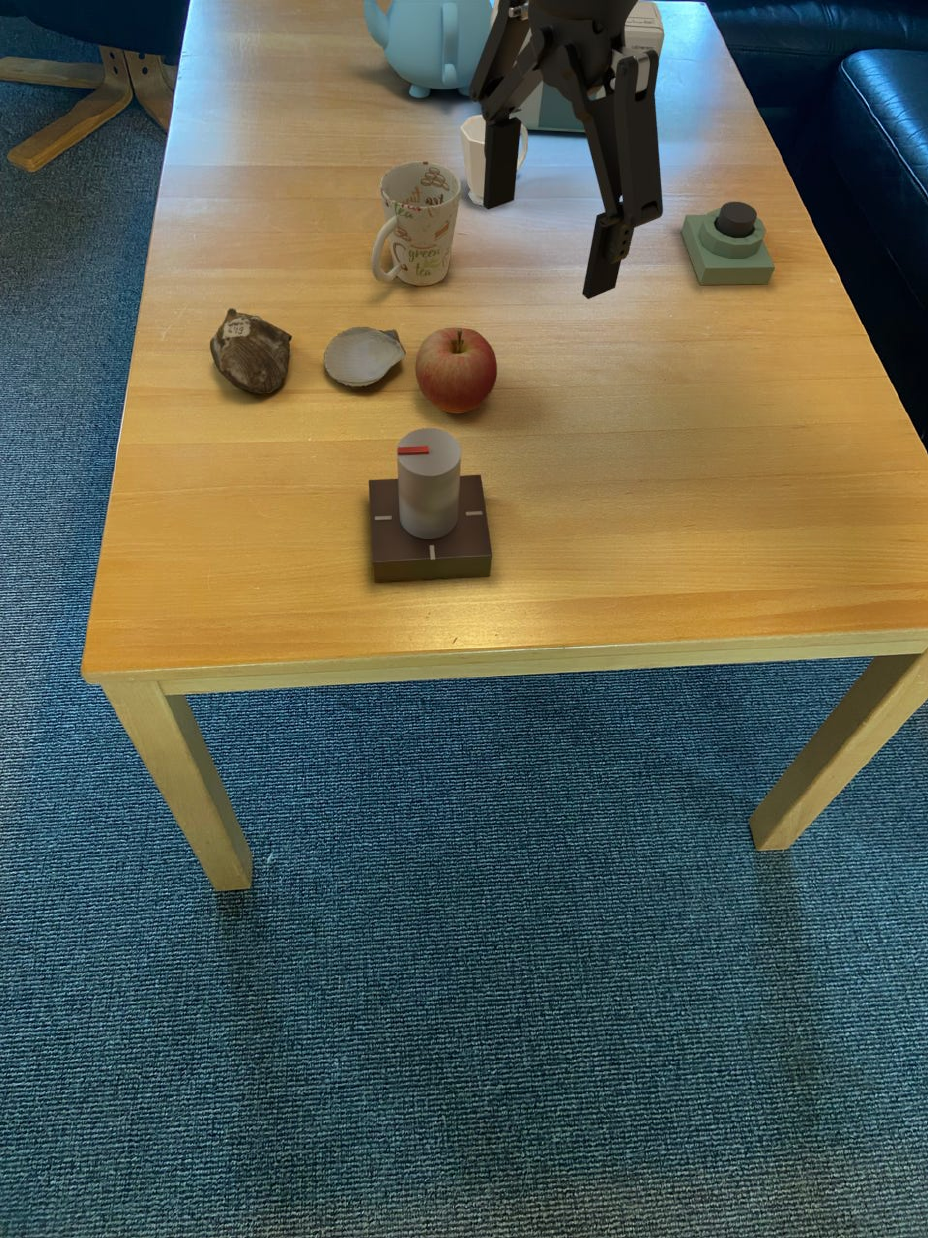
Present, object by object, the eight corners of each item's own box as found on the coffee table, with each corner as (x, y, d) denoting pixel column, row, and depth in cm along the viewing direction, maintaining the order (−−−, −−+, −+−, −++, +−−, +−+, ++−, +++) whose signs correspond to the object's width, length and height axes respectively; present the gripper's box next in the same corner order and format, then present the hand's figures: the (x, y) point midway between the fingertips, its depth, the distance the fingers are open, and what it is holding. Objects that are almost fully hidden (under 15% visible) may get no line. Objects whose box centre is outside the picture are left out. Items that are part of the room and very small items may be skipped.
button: (755, 239, 93) (761, 222, 91) (720, 239, 93) (726, 222, 91) (745, 217, 95) (751, 200, 93) (711, 218, 95) (717, 201, 93)
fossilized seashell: (223, 307, 85) (190, 385, 81) (242, 271, 80) (207, 352, 76) (290, 345, 88) (261, 421, 84) (313, 312, 83) (283, 392, 79)
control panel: (479, 495, 76) (481, 472, 74) (490, 577, 72) (492, 555, 69) (370, 500, 76) (368, 477, 73) (374, 583, 71) (372, 562, 68)
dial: (455, 492, 73) (458, 423, 66) (460, 537, 70) (464, 471, 63) (398, 495, 72) (395, 426, 65) (401, 541, 70) (398, 474, 62)
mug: (471, 263, 94) (476, 178, 86) (410, 323, 89) (408, 238, 80) (411, 237, 97) (409, 151, 88) (346, 295, 91) (338, 208, 82)
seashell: (326, 363, 87) (333, 401, 82) (317, 336, 85) (324, 374, 80) (401, 342, 88) (413, 379, 82) (395, 315, 85) (406, 351, 80)
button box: (768, 283, 95) (781, 252, 91) (700, 285, 94) (710, 253, 91) (745, 230, 100) (757, 199, 96) (681, 231, 99) (690, 199, 96)
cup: (446, 194, 101) (447, 126, 95) (502, 164, 105) (507, 97, 98) (487, 220, 99) (491, 152, 92) (543, 188, 103) (551, 120, 96)
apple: (449, 359, 86) (451, 293, 79) (510, 395, 83) (517, 330, 77) (398, 400, 82) (395, 335, 76) (459, 439, 80) (462, 375, 73)
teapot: (351, 80, 115) (343, -42, 103) (445, 34, 123) (448, -84, 111) (438, 125, 110) (440, 3, 98) (530, 74, 118) (542, -45, 106)
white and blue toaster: (484, 134, 109) (495, -50, 92) (485, 101, 113) (495, -80, 96) (642, 143, 109) (682, -39, 92) (637, 110, 114) (674, -69, 97)
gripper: (424, -139, 53) (425, 182, 71) (682, 21, 43) (607, 350, 61) (518, -157, 56) (496, 157, 74) (784, -10, 45) (683, 315, 63)
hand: (546, 245), depth 67 cm, fingers open, 13 cm apart
